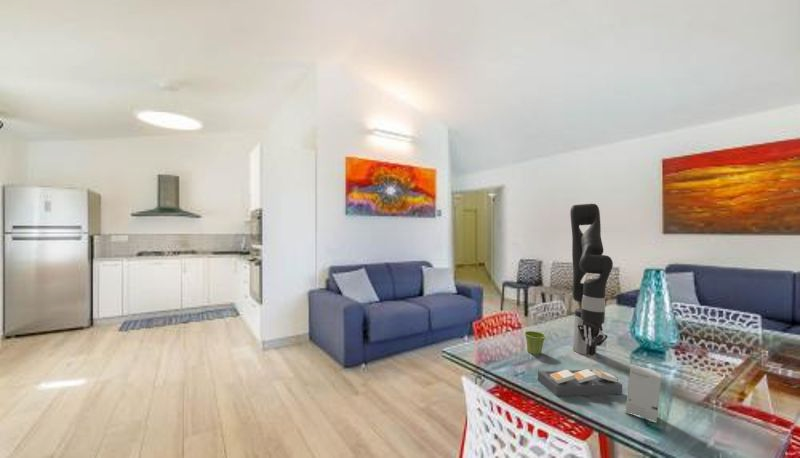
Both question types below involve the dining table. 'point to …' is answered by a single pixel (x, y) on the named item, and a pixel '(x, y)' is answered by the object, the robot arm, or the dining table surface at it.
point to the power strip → (579, 385)
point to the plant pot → (534, 341)
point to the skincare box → (643, 392)
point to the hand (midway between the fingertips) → (590, 354)
